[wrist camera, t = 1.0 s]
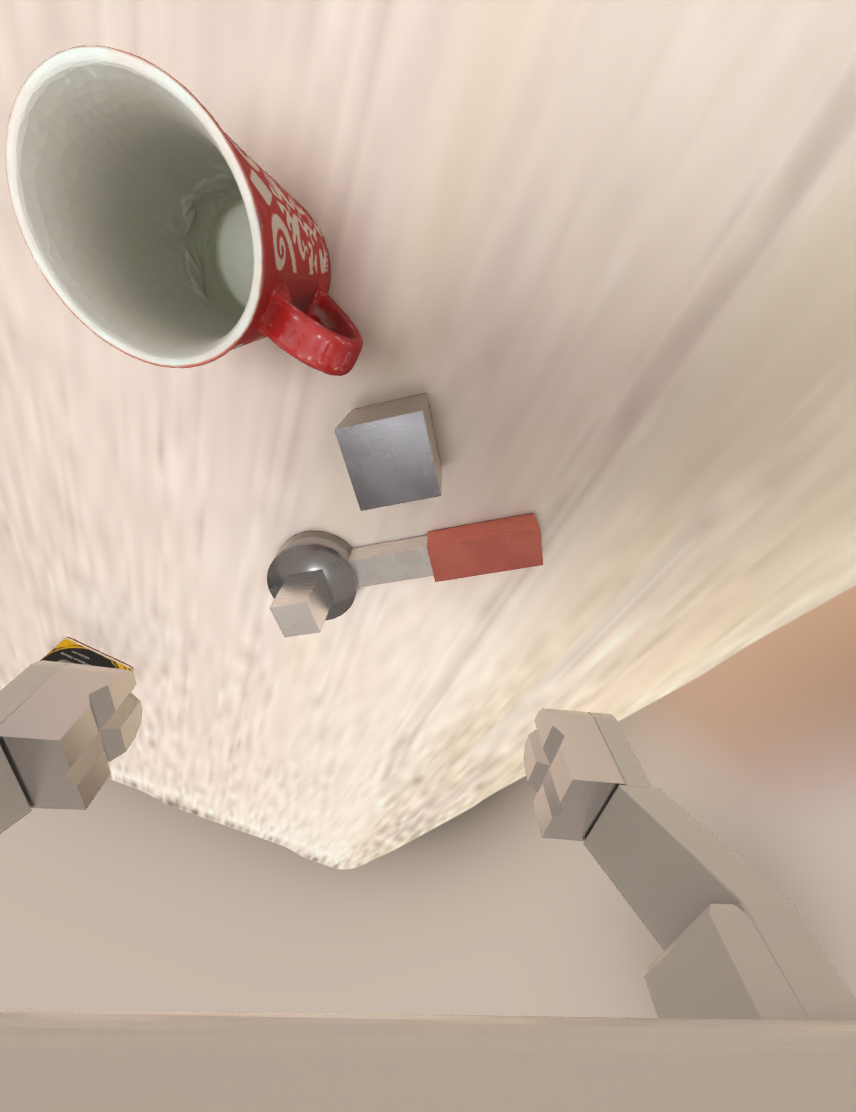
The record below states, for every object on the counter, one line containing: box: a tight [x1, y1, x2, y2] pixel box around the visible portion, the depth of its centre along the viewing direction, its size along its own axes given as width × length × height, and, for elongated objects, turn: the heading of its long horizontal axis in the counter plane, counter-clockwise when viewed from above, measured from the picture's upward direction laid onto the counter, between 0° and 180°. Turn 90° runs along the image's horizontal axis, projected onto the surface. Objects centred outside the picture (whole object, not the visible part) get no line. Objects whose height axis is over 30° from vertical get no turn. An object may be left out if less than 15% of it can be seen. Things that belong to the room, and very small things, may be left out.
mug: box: [6, 46, 363, 376], centre depth 21 cm, size 13×9×14 cm
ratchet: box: [267, 513, 543, 637], centre depth 34 cm, size 23×8×8 cm, turn 102°
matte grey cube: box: [335, 393, 442, 511], centre depth 29 cm, size 6×6×6 cm
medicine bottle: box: [40, 638, 132, 671], centre depth 41 cm, size 7×7×12 cm
